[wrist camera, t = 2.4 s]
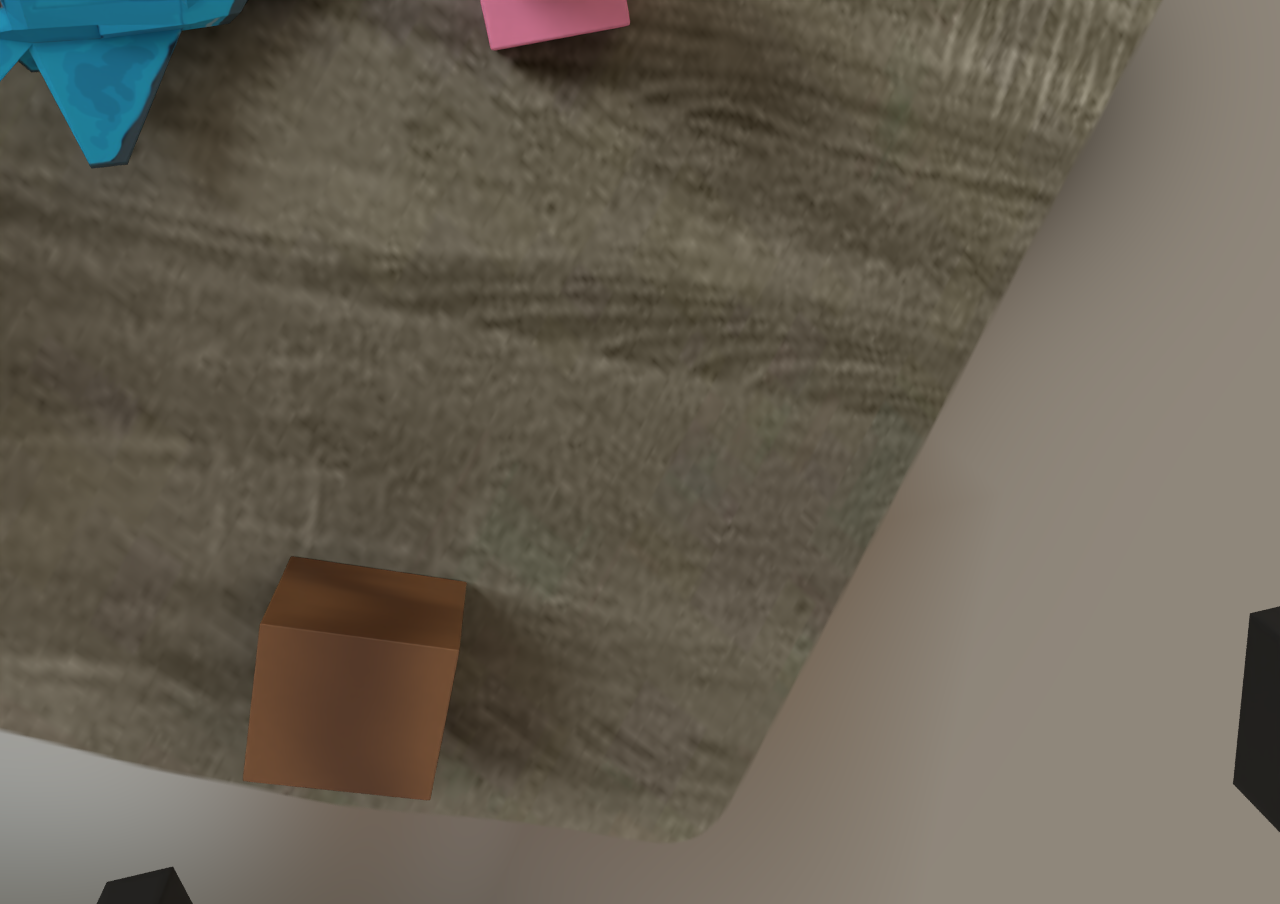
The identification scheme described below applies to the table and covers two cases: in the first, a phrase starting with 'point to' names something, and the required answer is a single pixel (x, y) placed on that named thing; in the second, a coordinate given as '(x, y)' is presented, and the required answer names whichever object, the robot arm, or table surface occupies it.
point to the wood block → (354, 679)
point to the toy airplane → (102, 59)
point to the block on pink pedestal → (549, 19)
